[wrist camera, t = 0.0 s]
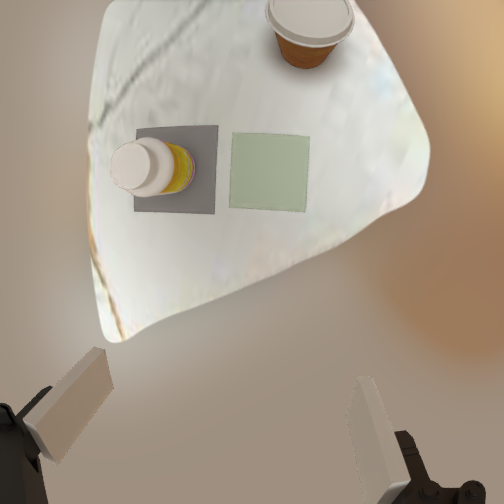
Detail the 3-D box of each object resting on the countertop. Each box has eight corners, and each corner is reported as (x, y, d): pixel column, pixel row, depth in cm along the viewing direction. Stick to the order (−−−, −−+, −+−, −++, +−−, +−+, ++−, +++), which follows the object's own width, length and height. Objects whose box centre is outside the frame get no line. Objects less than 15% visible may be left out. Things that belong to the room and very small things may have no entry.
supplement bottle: (193, 141, 38) (157, 126, 25) (199, 189, 39) (164, 194, 27) (148, 150, 39) (99, 141, 26) (153, 196, 40) (105, 204, 28)
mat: (232, 132, 37) (232, 132, 37) (309, 136, 37) (309, 136, 37) (229, 207, 40) (229, 207, 40) (305, 212, 39) (305, 212, 39)
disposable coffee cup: (296, 90, 35) (302, 56, 24) (255, 41, 34) (246, -3, 22) (351, 61, 33) (375, 22, 22) (310, 14, 32) (318, -33, 20)
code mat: (137, 129, 38) (136, 129, 38) (218, 125, 37) (218, 125, 37) (134, 211, 41) (133, 211, 41) (214, 214, 40) (214, 214, 40)
